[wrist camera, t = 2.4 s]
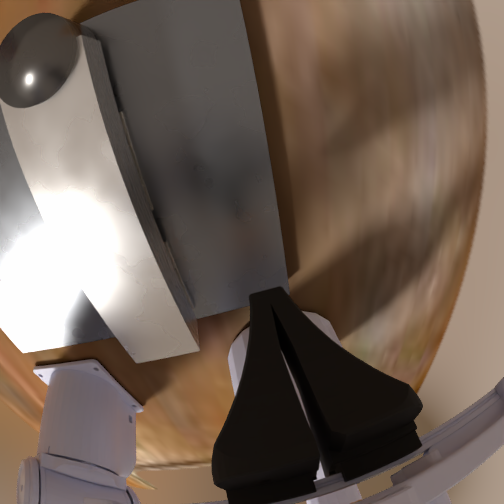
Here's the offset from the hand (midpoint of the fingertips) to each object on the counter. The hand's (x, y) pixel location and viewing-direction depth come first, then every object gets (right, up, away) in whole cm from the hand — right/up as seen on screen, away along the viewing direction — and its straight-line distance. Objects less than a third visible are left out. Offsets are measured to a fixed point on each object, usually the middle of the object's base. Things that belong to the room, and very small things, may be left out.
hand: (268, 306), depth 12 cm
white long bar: (-8, +5, 0) cm, 9 cm away
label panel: (-11, +5, +2) cm, 12 cm away
